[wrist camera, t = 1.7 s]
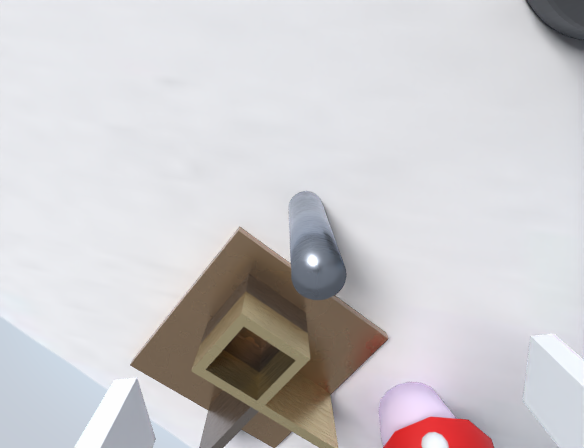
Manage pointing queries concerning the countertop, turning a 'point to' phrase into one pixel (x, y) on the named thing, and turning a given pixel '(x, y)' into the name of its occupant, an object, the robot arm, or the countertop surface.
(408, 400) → the mushroom
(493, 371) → the countertop surface
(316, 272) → the pin
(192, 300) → the square socket plate
